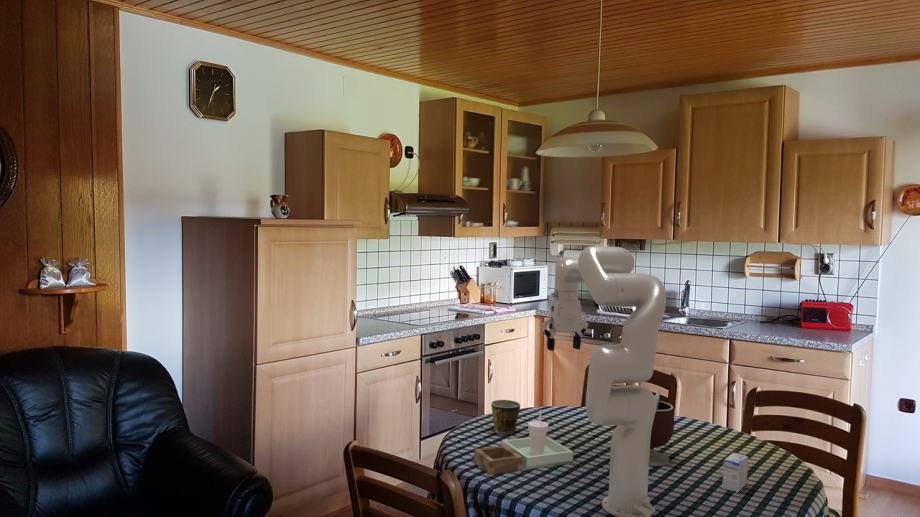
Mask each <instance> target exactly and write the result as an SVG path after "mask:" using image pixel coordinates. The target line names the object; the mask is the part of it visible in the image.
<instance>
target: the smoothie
mask: <svg viewBox="0 0 920 517" xmlns="http://www.w3.org/2000/svg"><path fill="white" fill-rule="evenodd" d="M538 415H539V416H538V417H539V418H538V420H532V421H529V422H528V423H527V427H528V433H529V434H528V435H529V436H528V437H530V450H531V455H532V456H534V455H542V454H543V452H544V446H545V440H546V436H547V433H548V429H549V424H548V423H547V422H545V421H542V409H541V410H540V409H539V414H538Z"/></svg>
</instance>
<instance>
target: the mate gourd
mask: <svg viewBox="0 0 920 517" xmlns="http://www.w3.org/2000/svg"><path fill="white" fill-rule="evenodd" d="M661 392H662V391H661V389H660V390H658V391H656V393H655V395H654V397H655V399H656V412H655V416H654V420H653V424H652V429H651V437H650V453H649V467H651V466H653V467H660V466H662V465H663V466H666V465H668V464H670V462H669V461H670V457H669V456H668V455H666V454H664V453H661V452H660V451H655V449H657V448H660V447H661V448H662V447H664V446H666V445H667V444H668V443H669V442H670V441H671V439H672V437H673V433H674V429H675V413H674V406H673V405H672V404H671V403H668V402H665V401H662V400H661V399H660V396H661Z"/></svg>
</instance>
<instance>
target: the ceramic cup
mask: <svg viewBox="0 0 920 517" xmlns="http://www.w3.org/2000/svg"><path fill="white" fill-rule="evenodd" d="M490 403H491V404H490V405H491V413H492V421H493V427H494V428H493V429H494V432H495V433H496V434H498V435H502V436H510V435H513V434H515V432H516V427H517V422H518V418H519V415H520V409H521V403H520V402H518V401H516V400H510V399H496V400H493V401H492V402H490Z"/></svg>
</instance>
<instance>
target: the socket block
mask: <svg viewBox="0 0 920 517" xmlns="http://www.w3.org/2000/svg"><path fill="white" fill-rule="evenodd" d="M473 463H474V464H475V463H476V465H477V466H478V467H479V468H480V469H482V470H483V471H484V472H485V473H486V474H487V475H489V476H493V475H499V474H507V473H514V472H522V471H523V466H522V463H523V457H522V456H520V455H519V454H517V453H516V452H515V451H513V450H512V449H510V448H509V447H507V446H506V445H505V446H502V445H498V446H490V447H481V448H475V449H474V450H473Z"/></svg>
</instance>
